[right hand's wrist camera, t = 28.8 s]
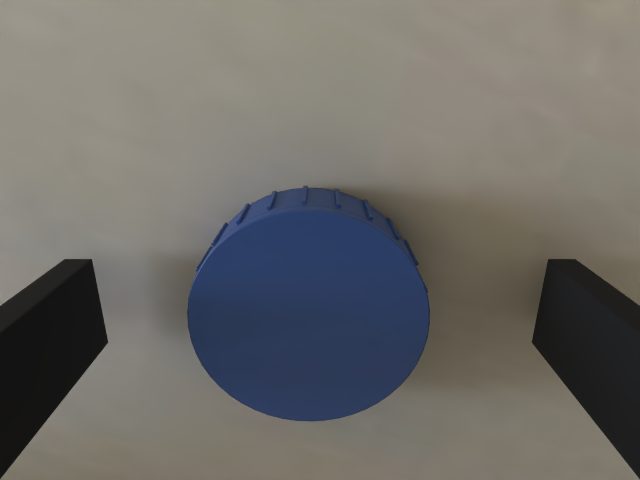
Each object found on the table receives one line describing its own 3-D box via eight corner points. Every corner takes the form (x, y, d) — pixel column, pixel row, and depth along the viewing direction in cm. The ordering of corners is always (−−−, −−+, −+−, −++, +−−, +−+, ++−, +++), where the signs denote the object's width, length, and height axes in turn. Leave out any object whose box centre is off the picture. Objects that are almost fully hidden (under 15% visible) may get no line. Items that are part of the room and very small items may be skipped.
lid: (263, 142, 12) (252, 156, 10) (458, 250, 13) (483, 283, 11) (171, 322, 14) (146, 365, 12) (347, 403, 15) (351, 454, 13)
